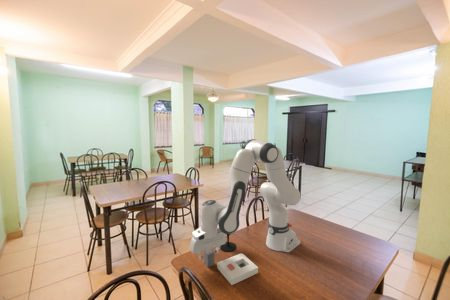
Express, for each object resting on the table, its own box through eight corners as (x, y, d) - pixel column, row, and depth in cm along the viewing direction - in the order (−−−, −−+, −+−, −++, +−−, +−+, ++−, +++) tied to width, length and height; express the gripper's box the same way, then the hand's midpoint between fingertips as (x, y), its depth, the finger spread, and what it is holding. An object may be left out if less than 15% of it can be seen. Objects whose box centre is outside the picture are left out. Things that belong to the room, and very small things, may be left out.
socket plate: (241, 257, 117) (241, 251, 117) (257, 272, 105) (258, 265, 105) (217, 267, 109) (217, 261, 109) (231, 285, 97) (231, 277, 97)
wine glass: (217, 244, 131) (217, 214, 128) (232, 241, 134) (232, 211, 132) (223, 253, 121) (223, 221, 119) (239, 250, 125) (239, 218, 122)
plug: (211, 260, 115) (210, 248, 114) (214, 264, 112) (214, 252, 111) (204, 263, 113) (204, 251, 112) (207, 267, 109) (207, 255, 109)
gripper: (222, 224, 118) (222, 247, 119) (188, 233, 107) (189, 258, 108) (228, 228, 112) (228, 252, 114) (193, 238, 102) (193, 265, 103)
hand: (208, 255), depth 111 cm, fingers open, 8 cm apart
